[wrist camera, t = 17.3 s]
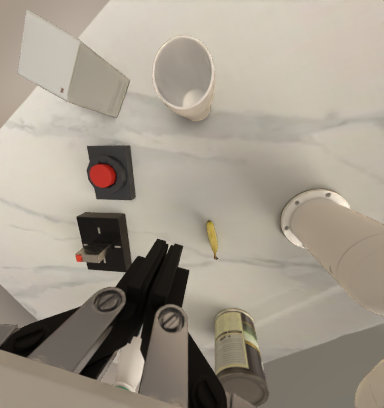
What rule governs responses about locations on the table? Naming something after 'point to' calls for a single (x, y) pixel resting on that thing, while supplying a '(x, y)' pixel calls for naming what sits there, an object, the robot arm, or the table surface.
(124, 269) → the black flat block
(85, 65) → the white packaging box
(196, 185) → the table surface
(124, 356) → the milk bottle
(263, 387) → the coffee can
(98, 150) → the box
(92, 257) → the red-tagged slide lever
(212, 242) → the banana
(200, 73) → the drinking glass
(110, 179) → the red push button
